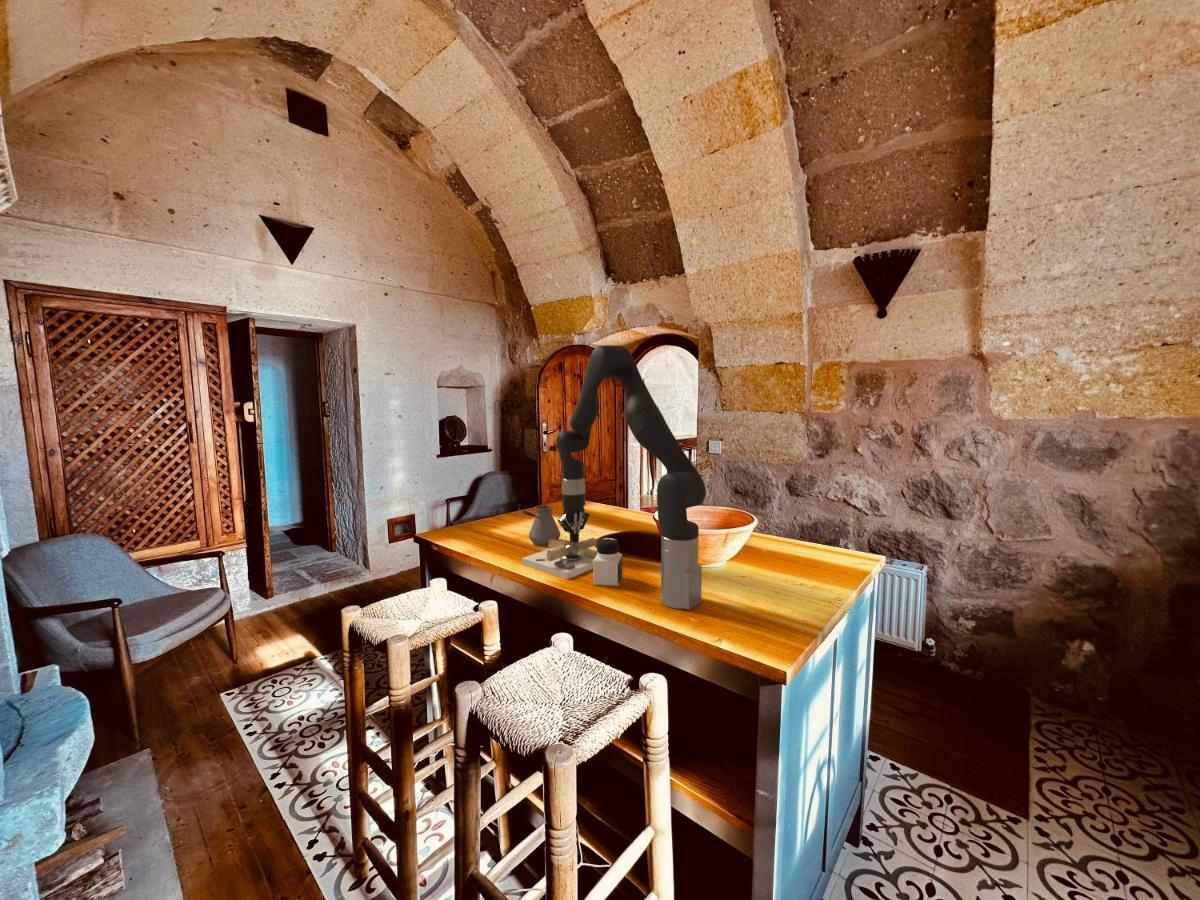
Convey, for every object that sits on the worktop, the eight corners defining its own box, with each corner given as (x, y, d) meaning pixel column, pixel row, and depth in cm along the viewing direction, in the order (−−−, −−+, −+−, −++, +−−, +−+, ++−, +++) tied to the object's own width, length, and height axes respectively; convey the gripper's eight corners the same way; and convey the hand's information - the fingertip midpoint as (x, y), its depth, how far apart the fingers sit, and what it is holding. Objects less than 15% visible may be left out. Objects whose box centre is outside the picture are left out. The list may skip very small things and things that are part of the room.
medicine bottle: (618, 586, 136) (618, 544, 134) (593, 585, 137) (592, 543, 136) (622, 577, 142) (622, 536, 141) (598, 575, 144) (597, 535, 143)
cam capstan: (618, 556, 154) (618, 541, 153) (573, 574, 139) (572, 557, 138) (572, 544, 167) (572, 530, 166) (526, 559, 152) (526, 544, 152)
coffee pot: (538, 536, 185) (536, 497, 183) (566, 539, 181) (565, 499, 179) (507, 554, 165) (506, 510, 163) (538, 557, 161) (537, 512, 159)
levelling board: (609, 562, 156) (609, 550, 155) (566, 579, 142) (566, 566, 141) (565, 549, 169) (565, 539, 168) (522, 564, 155) (521, 552, 154)
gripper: (567, 496, 153) (568, 551, 154) (595, 490, 162) (596, 541, 164) (550, 493, 158) (551, 546, 159) (579, 487, 167) (580, 537, 169)
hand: (574, 543), depth 162 cm, fingers closed
